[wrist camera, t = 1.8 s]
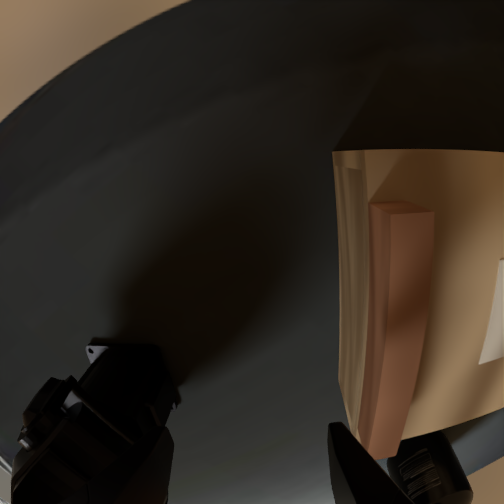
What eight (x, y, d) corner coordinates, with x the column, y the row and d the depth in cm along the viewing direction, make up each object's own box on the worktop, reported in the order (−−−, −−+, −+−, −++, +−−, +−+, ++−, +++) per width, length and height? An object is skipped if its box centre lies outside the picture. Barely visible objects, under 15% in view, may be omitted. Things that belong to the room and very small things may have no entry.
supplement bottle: (381, 474, 26) (401, 564, 15) (390, 437, 24) (422, 542, 13) (437, 459, 25) (468, 540, 14) (453, 420, 24) (497, 510, 12)
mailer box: (338, 379, 22) (352, 437, 16) (332, 151, 18) (358, 150, 12) (519, 338, 21) (555, 373, 15) (542, 156, 16) (594, 163, 10)
